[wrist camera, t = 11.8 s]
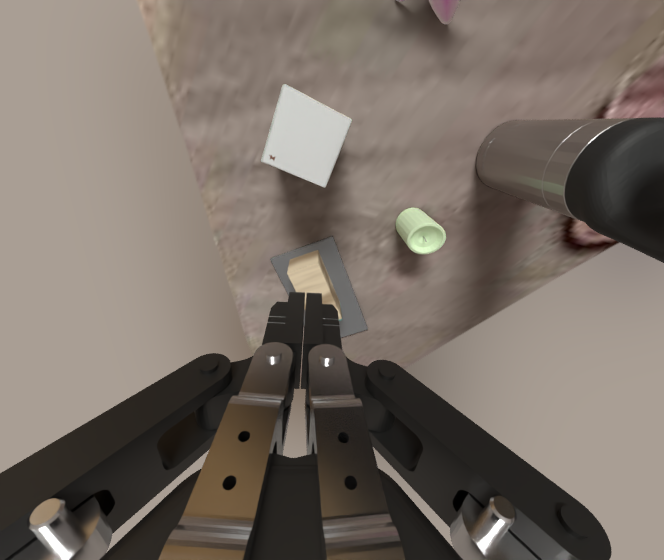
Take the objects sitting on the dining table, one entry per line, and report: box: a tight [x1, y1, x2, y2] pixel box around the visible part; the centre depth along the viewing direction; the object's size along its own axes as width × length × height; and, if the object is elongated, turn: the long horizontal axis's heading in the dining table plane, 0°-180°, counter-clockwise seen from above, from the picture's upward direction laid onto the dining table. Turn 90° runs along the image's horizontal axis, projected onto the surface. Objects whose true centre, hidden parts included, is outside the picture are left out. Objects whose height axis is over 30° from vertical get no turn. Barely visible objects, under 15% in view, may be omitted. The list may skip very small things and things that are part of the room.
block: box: [287, 250, 342, 321], centre depth 48 cm, size 5×5×11 cm
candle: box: [396, 208, 446, 254], centre depth 42 cm, size 5×5×8 cm
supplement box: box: [261, 84, 352, 188], centre depth 34 cm, size 7×7×13 cm
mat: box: [270, 236, 368, 337], centre depth 52 cm, size 20×11×1 cm, turn 20°
